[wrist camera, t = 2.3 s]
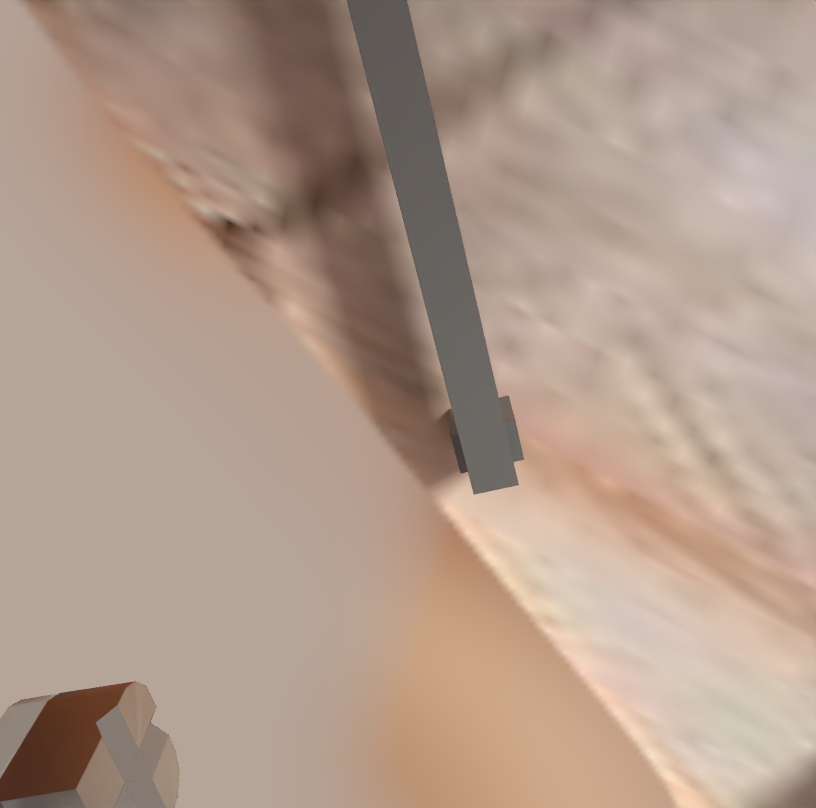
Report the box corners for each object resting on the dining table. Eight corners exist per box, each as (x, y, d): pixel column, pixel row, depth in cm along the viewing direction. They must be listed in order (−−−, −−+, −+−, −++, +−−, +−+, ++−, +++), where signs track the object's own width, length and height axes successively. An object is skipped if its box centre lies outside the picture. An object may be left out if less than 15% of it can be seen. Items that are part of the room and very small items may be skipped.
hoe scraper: (118, -399, 22) (48, -509, 18) (431, -515, 20) (432, -661, 16) (379, 462, 31) (372, 516, 27) (598, 413, 30) (624, 462, 26)
